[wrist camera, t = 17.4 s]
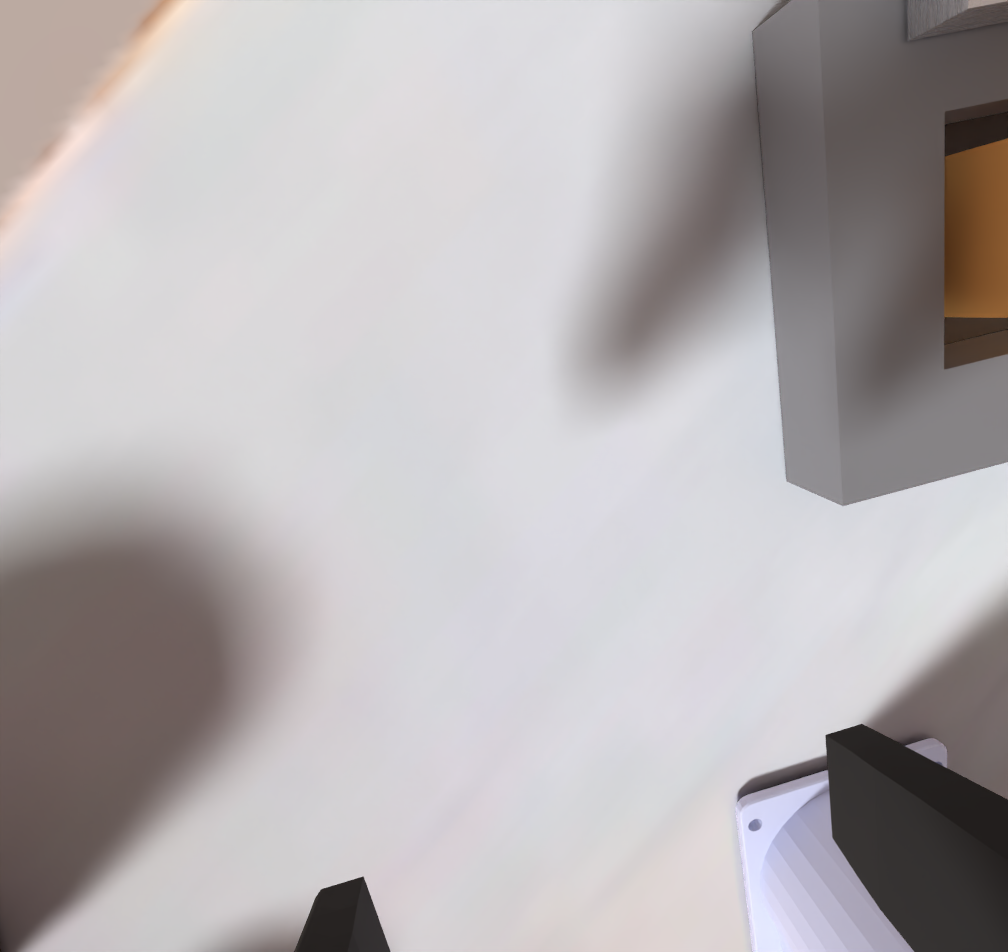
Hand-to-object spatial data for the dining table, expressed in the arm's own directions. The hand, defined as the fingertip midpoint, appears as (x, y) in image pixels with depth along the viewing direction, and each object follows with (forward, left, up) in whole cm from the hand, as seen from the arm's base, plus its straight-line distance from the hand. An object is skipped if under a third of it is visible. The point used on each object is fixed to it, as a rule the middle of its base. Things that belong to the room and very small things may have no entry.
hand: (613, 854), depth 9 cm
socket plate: (+7, -15, -9) cm, 19 cm away
